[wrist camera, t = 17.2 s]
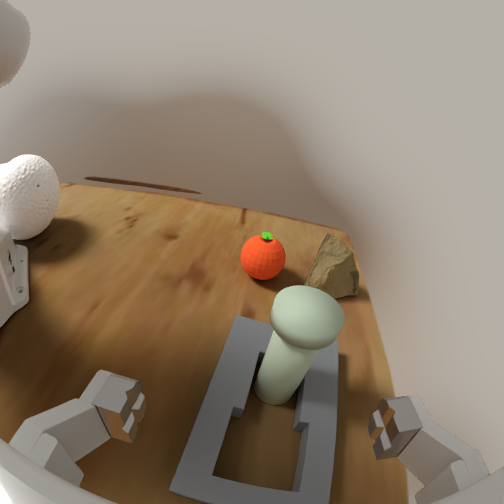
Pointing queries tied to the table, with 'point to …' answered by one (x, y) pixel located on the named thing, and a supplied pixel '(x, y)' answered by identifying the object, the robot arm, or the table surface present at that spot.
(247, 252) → the clementine
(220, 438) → the keyhole board
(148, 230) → the table surface
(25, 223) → the white lumpy blob
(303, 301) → the sage post
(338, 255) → the rock
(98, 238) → the table surface
